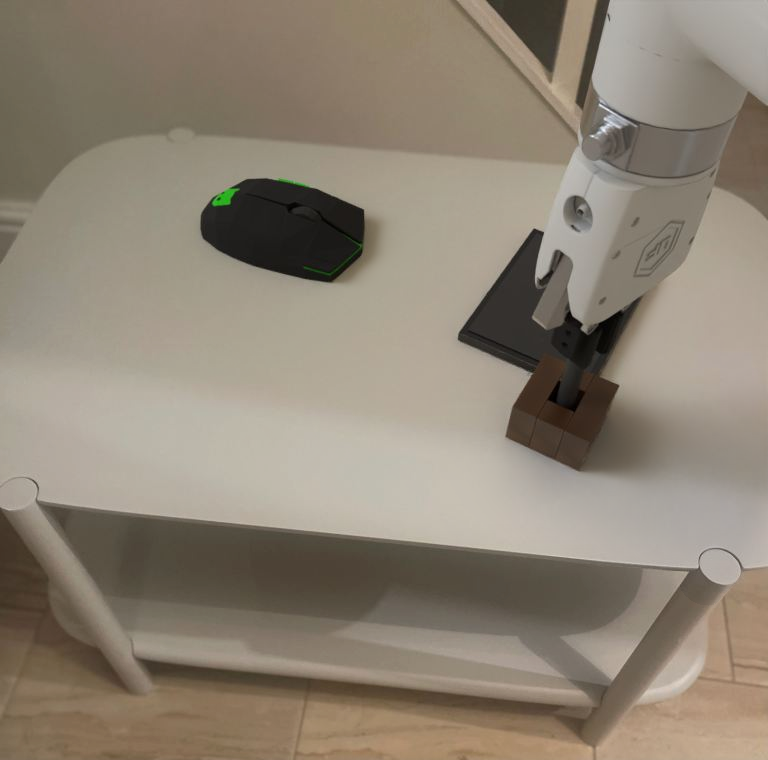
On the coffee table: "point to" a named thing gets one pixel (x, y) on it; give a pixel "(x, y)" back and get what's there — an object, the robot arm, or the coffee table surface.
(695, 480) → the coffee table surface
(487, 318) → the tablet
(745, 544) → the coffee table surface
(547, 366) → the holder
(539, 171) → the coffee table surface
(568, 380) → the stylus
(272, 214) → the computer mouse
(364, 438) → the coffee table surface
